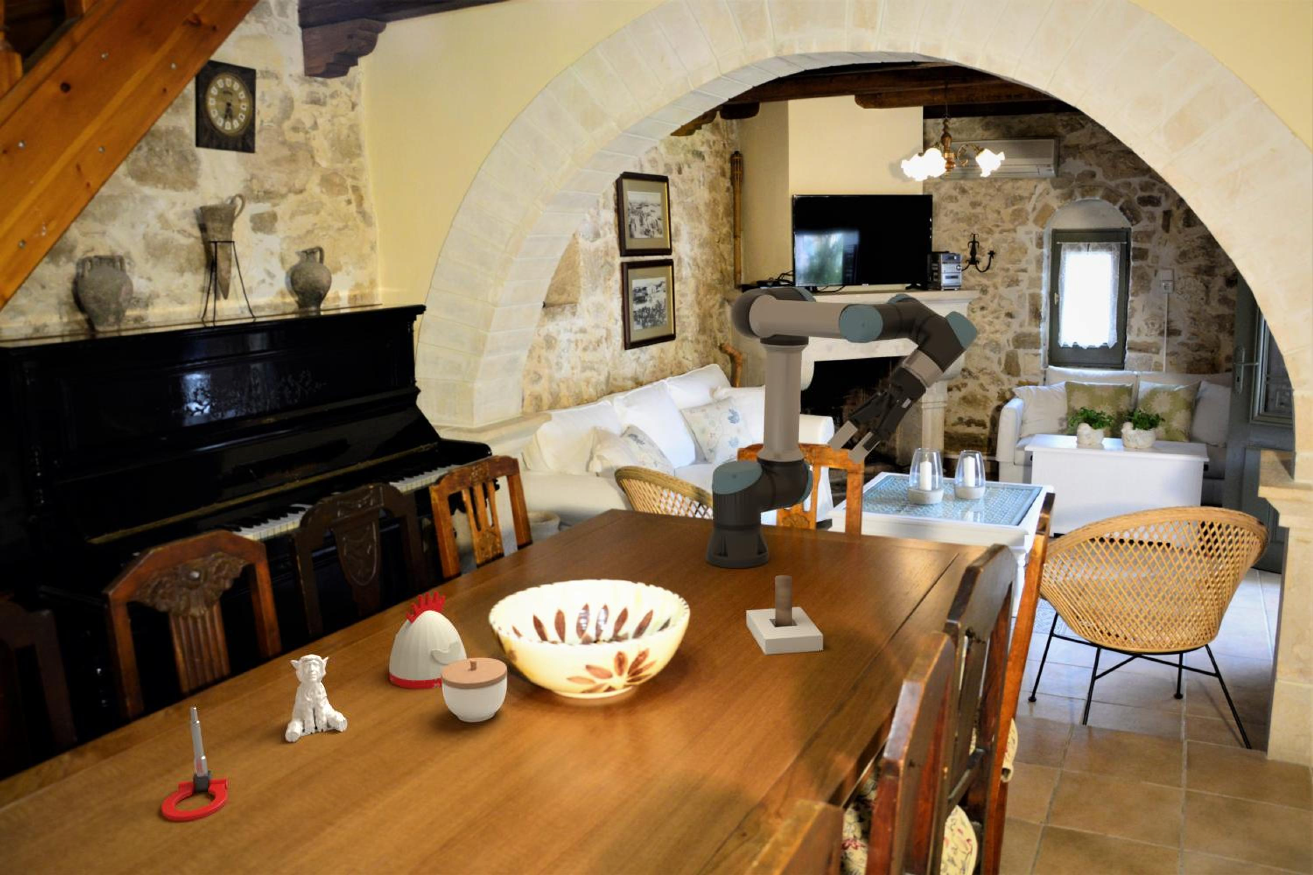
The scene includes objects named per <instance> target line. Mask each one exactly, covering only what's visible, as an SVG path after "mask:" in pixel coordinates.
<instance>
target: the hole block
mask: <svg viewBox="0 0 1313 875" xmlns="http://www.w3.org/2000/svg"><path fill="white" fill-rule="evenodd" d="M745 614H746V626H747V628H748V629H749V631H750V633H751V634H752V636H753V637H754V639H755V641H756V642H757V644H758V645H759V647H760V648H761V650H762V652H763V653H764V655H779V654H781V655H782V654H790V653H791V654H794V653H805V652H808V653H809V652H820V651H821V650H822V651H824V635H823V633H822V632H821V631H820V630H819V629H818V627H817V626H816V625H815V623H814V622H813V621H812V620H811V618H810V617H809V616H808V615H807V614H806V612H805V611H804V610H803V608H802V607H801V606H796V607H795V606H792V626H787V627H775V608H762V609H750V610H746V612H745ZM819 650H820V651H819Z"/></svg>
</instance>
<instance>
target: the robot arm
mask: <svg viewBox="0 0 1313 875" xmlns="http://www.w3.org/2000/svg"><path fill="white" fill-rule="evenodd" d="M730 318H731V322H732V325H733V327H734V329H735V330H736V331H737V332H738V333H739V334H740V335H741V336H744V337H746V338H749V339H755V340H756V339H757V340H759V344H760V346H761V347H763V349H764V350H765V371H764V372H765V375H764V376H765V377H764V408H763V410H764V411H763V413H764V414H763V441H762V442H763V444H762V445H763V446H762V448H761V449H760V450H759V451H758V452H757V453H756V460H752V459H741V460H733V461H728V462H725V463H722V464H720V465H718V466H717V467H715V469H714V471H713V472H712V483H711V492H712V499H711V500H712V530H711V534H710V536H709V540H708V543H707V546H706V550H705V560H706V562H707V563H709V564H710V565H712V566H716V567H720V568H726V569H727V568H729V569H745V568H746V569H747V568H754V567H759V566H762V565H765V564H766V563H767V562H769V561H770V560H769V558H770V557H769V556H770V553H769V548H768V544H767V541H766V538H765V536H764V532H763V528H762V514H763V513H767V512H772V511H777V510H781V509H789V508H792V507H794V506H797V505H800V504H802V503H804V502H805V501H806V500H807V499H808V498H809V497H810V495H811V493H812V490H813V486H814V473H813V471H812V470H811V465H810V464H809V463H808V462H807V461H806V460H805V454H804V453H803V452H802V451H801V449H800V448H799V442H800V441H799V440H800V439H799V438H800V437H799V436H800V412H801V410H800V409H801V407H800V406H801V387H802V386H801V384H802V383H801V382H802V362H803V361H802V360H803V357H802V356H803V354H802V353H803V351H804V350H805V349H806V348H807V347H808V346H809V343H810V342H809V341H810V338H822V339H823V338H824V339H835V340H846V341H847V342H849V343H851V344H853V343H854V344H868V343H873V342H879V341H892V340H901V339H907V340H909V341H911V342H912V343H914V344H915V345H917V347H916V348H915V349H913V350H912V352H910V354H908V356H906V358H905V359H904V360H903V361H902V362H901V366H898V367H897V368H896V369H895V370H894V371H893V372H892V373H891V374H890V375H889V376H888V378H887V381H888V383H889V384H890V387H889V388H888V389H886V388H885V387H884V386H882V387H880V388H879V389H878V390H877V391H876V392H875V393H874V394H873V395H871V396H869V397H868V398H867V399H866V400H865V401H863V402H862V403H861V404H860V405H858V406H857V407H855V408H854V409H853V410H852V411H851V412H848V414H847V418H848V419H847V421H846V422H845V423H844V424H843V425H842V426H841V427H840V428H839V429H838V431H836V432H835V434H834V435H832V436H831V438H830V439H828V441H827V442H826V444H827V445H828V446H829V447H830V448H831V449H832V450H833V451H834V452H835V453H837V452H839V450H841V448H842V447H843V446H844V445H845V444H846V443H847V442H848V441H849V440H850V439H851V438H852V436H853V435H855V434H856V432H857V431H860V430H861V426H862V425H864V424H865V423H867V422H869V421H870V420H872V419H873V418H876V417H877V416H878V415H879V417H878V419H877V421H876V424H875V426H874V427H872V428H870V429H869V432H867V434H866V435H865V436H864V437H863V438H862V439H861V440H860V441H859V442H858V443H857V444H856V445H855V446H854V447H853V449H851V450H850V451H849V453H847V458H849V459H850V460H851V461H852V462H853V463H854V464H855V465H856V466H858V465H859V464H860V463H861V462H862V461H863V460H864V459H865V458H866V457H867V456H868V455H869V454H870V452H872V450H874V448H875V447H876V446H877V445H878V444H879V443H880V442H882V441H884V440H885V441H890V439H891V437H892V436H893V434H894V433H895V431H896V429H897V428H898V426H899V425H900V423H901V422H902V420H903V419H904V416H906V414H907V412H909V410H910V409H911V408H912V407H913V405H914V404H916V403H917V402H918V401H919V400H920V399H921V398H922V397H923V396H924V395H925V394H926V393H927V389H930V388H931V387H932V386H933V385H934V384H936V383H940V378H942V376H943V375H944V373H946V371H947V370H948V369H949V368H950V367H951V366H952V365H953V364H955V362H957V360H958V359H959V358H960V357H961V356H962V355H963V354H964V353H966V352H967V351H968V349H969V347H971V345H972V344H974V342H975V340H976V339H978V338H977V337H978V334H979V333H978V329H977V327H976V326H975V325H974V323H973V322H972V321H971V320H970V319H968V317H967V316H965V315H964V314H962V313H961V312H957V311H955V310H952V311H951V312H948V314H946V315H945V316H943V315H941V314H939V313H938V312H936V311H934V310H933V309H931V307H929V306H927V305H926V304H924V303H922V302H921V301H920V300H919V299H917V298H916V297H914V296H911V295H910V294H907V293H905V292H900V293H897V294H895V296H891V297H890V298H889V299H888V300H887V301H886V303H885V302H884V303H851V302H850V303H847V302H846V303H844V302H827V301H817V299H816V298H815V297H814V296H813V294H812V293H811V292H810V291H809V290H807V289H806V288H804V287H800V286H778V287H767V288H754V289H749V290H746V291H744V292H743V293H741V294H740V295H739V296H738V297H737V298H736V299H735V300H734V302H733V305H732V308H731V313H730Z"/></svg>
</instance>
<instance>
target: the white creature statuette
mask: <svg viewBox="0 0 1313 875" xmlns="http://www.w3.org/2000/svg"><path fill="white" fill-rule="evenodd" d="M328 659H329V656H327V657H325V658H323V659H322V657H321V656H319V655H316V654H309V655H303V656H301V657H300V659H298V660H293V659H291V660H290V663H291V664H292V665H293V668H295V669H296V670H295V674H296V677H297V679H298V681H299V682H300V685H298V686H297V689H296V690H297V691H296V695H295V697H294V698H295V701H294V702H295V703H294V705H293V709H292V714H291V715H292V718H291V720H290V722H288V724H287V728H286V730H285V735H284V736H285V739H286V741H287V742H293V743H295V742H296V741H298V740H299V738H300V737H305V736H309V735H311V733H312V734H315V733H316V732H319V733H322V731H323V732H326V731H330V730H336V731H339V732H341V733H342V732H343V731H346V729H347V727H348V721H347V719H346V717H344V715H343V714H342V713H341V712H339V711H337V710H335V709H334V708H333V707H332V705H331V704H330V702H329V700H328V698H327V696H328V695H327V691H326V689H325V687H324V685H323V683H322V682H321V681H322V679H323V677H325V676H326V675H327V672H326V670H325V669H326V665H327V661H328ZM316 727H317V729H316Z"/></svg>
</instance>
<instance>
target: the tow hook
mask: <svg viewBox="0 0 1313 875" xmlns="http://www.w3.org/2000/svg"><path fill="white" fill-rule="evenodd" d="M189 711H190V717H191V721H190V730H191V738H192V744H193V753H194V758H193V764H194V770H195V772H194V774H193V776H192V780H191V781H183V782H182V781H181V782H178V785H177V791H175V792H173V793H172V794H170V795H169V796H167V798H166V799H165V800H164V801H163V803H162V805H161V814H162V815H163V817H164V818H166V819H167V820H169V821H174V822H188V821H189V822H190V821H196V820H200V819H203V818H206V817H208V816H210V815H212V814H214V813H216V812H218V811H219V810H220V809H222V808H223V806H225V804H226V803H227V801H228V790H227V789H228V788H229V778H227V777H225V778H224V777H223V778H214V779H213V777H212V775H213V774H212V770H208V764H207V757H206V755H205V752H204V744H203V739H202V738H203V737H202V729H201V723H200V722H201V721H200V719H198V712H197V707H196V706H191V707H190V709H189ZM194 792H196V793H197V792H199V793H200V792H208V794H209V795H212V796H214V797H215V798H214V799H213V800H212V801H211V802H210V803H209V804H207V805H205V806H203V807H200V808H197V809H193V810H179V809H177V808H176V805H177V803H179V802H180V801H181V800H183V799H185V798H188V797H190V796H191V795H193V793H194Z"/></svg>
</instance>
